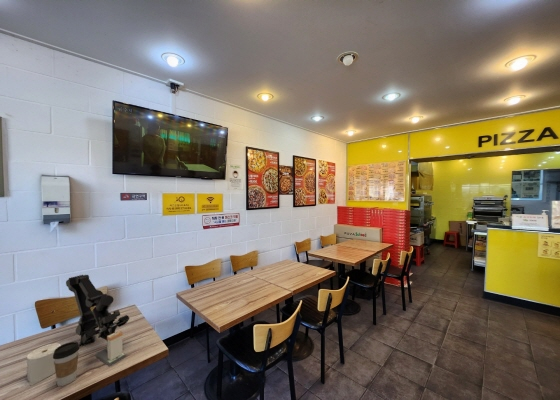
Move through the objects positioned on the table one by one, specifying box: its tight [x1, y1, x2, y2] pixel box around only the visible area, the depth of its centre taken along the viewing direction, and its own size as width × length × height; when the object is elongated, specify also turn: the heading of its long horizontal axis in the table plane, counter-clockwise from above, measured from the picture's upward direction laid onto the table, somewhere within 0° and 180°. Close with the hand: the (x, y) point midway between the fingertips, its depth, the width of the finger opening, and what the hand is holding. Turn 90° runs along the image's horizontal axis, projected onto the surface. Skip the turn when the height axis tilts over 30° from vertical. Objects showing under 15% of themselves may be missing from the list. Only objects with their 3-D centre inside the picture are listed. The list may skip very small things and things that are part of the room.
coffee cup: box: [53, 341, 81, 387], centre depth 95 cm, size 8×8×15 cm
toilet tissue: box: [26, 343, 62, 386], centre depth 100 cm, size 11×12×10 cm
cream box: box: [107, 330, 124, 360], centre depth 107 cm, size 3×5×11 cm, turn 151°
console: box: [95, 347, 127, 367], centre depth 109 cm, size 14×7×2 cm, turn 61°
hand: (113, 343), depth 108 cm, fingers closed, pressing on cream box
